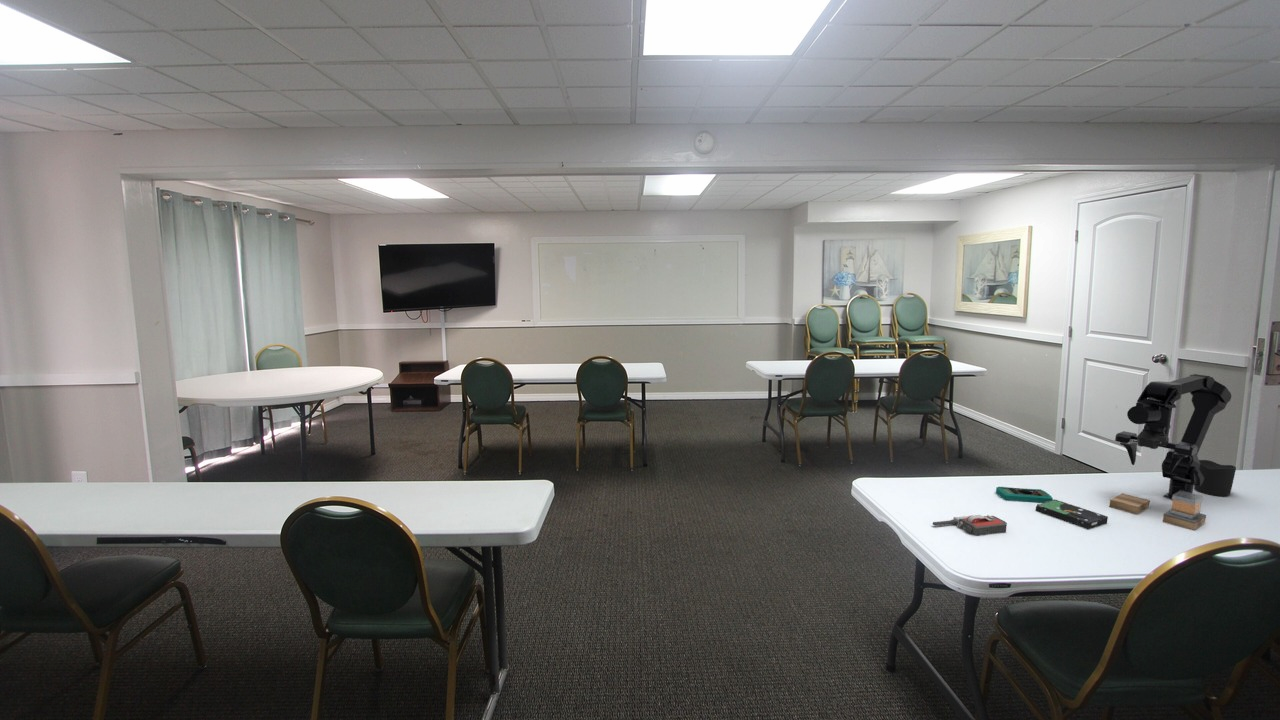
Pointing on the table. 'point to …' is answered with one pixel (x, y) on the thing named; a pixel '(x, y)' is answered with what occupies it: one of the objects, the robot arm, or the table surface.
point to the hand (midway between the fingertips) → (1151, 468)
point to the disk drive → (1072, 514)
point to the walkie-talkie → (977, 524)
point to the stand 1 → (1129, 503)
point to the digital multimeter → (1023, 494)
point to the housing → (1186, 505)
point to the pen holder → (1216, 478)
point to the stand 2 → (1184, 521)
